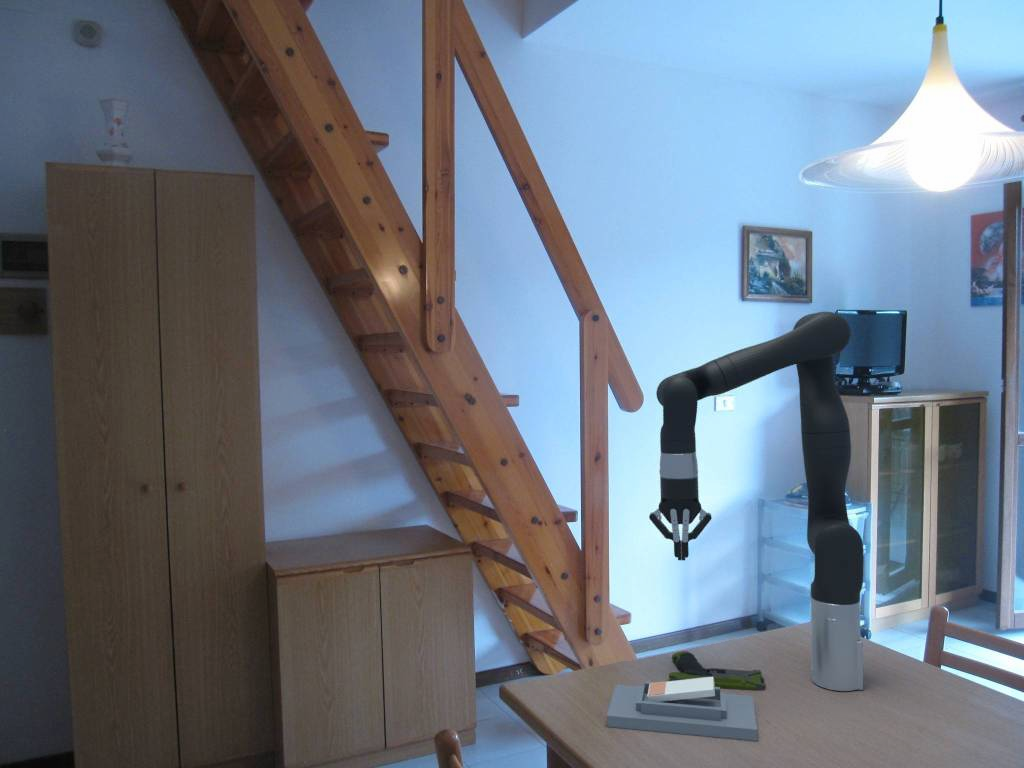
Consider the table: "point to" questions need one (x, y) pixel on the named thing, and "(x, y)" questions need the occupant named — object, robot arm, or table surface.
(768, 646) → the table surface
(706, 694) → the rocker
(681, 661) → the gun
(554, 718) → the table surface
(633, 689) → the panel
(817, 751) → the table surface
